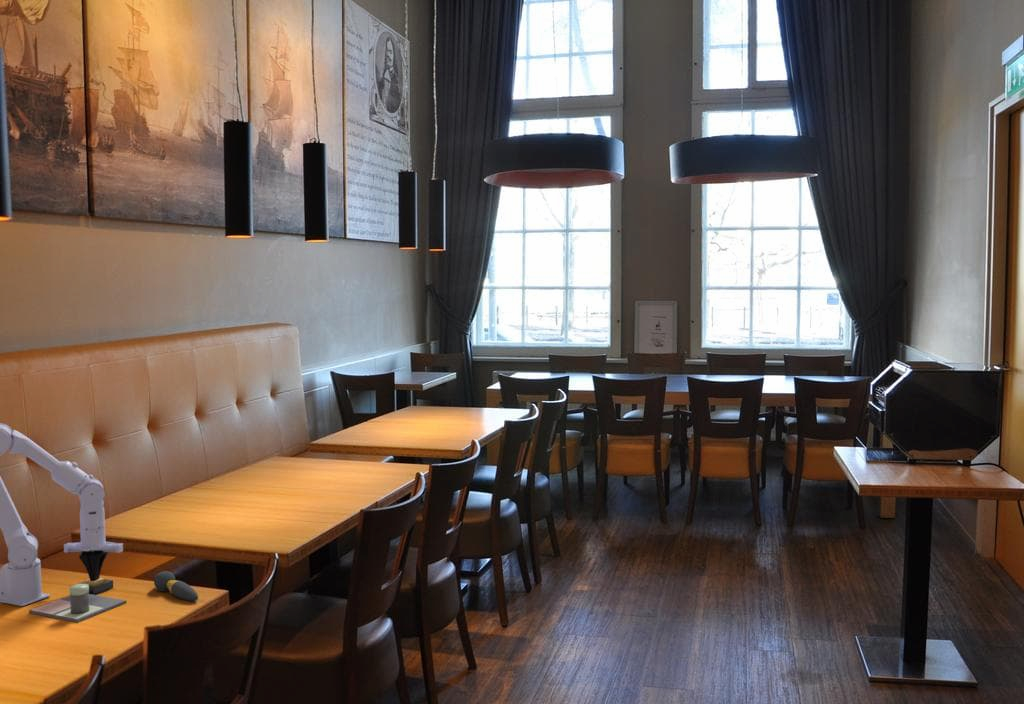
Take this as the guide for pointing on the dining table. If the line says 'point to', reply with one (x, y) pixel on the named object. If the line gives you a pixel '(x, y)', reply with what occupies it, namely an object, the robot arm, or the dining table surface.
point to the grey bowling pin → (174, 586)
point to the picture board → (63, 611)
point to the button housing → (100, 587)
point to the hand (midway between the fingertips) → (94, 579)
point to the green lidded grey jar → (79, 598)
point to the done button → (94, 581)
